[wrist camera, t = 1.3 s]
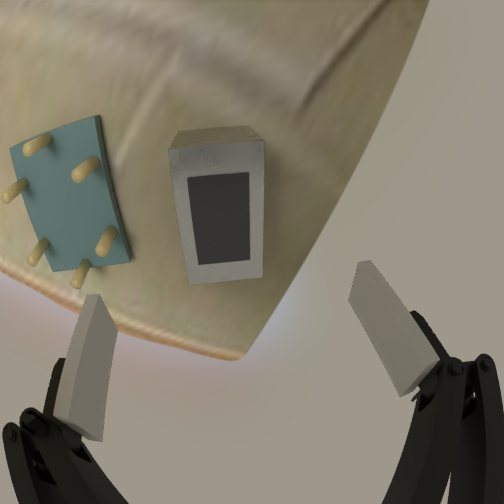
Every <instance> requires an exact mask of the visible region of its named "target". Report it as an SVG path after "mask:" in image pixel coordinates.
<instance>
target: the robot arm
mask: <svg viewBox="0 0 504 504" xmlns="http://www.w3.org/2000/svg"><path fill="white" fill-rule="evenodd" d="M348 301H349V303H350V304H351V306H352V308H353V309H354V311H355V313H356V315H357V317H358V318H359V320H360V322H361V324H362V326H363V327H364V329H365V331H366V333H367V335H368V336H369V338H370V340H371V342H372V344H373V345H374V348H375V349H376V351H377V353H378V355H379V357H380V359H381V361H382V363H383V365H384V367H385V369H386V370H387V372H388V374H389V376H390V378H391V380H392V382H393V384H394V386H395V388H396V390H397V392H398V394H399V397H402V396H404V395H406V394H409V393H410V392H413V391H414V390H415V388H416V387H417V386H419V388H420V390H419V392H418V393H417V394H416V395H415V396H414V397H413V398H412V400H411V401H414V400H415V399H416V398H417V401H416V406H415V410H414V414H413V418H412V422H411V425H410V429H409V432H408V436H407V439H406V442H405V445H404V449H403V452H402V455H401V458H400V460H399V463H398V466H397V469H396V471H395V474H394V476H393V479H392V481H391V484H390V486H389V488H388V491H387V493H386V495H385V498H384V500H383V502H382V504H440V503H441V500H442V498H443V495H444V492H445V489H446V486H447V482H448V479H449V476H450V472H451V477H450V487H449V496H448V504H504V412H503V404H502V397H501V391H500V386H499V380H498V376H497V371H496V366H495V363H494V361H493V359H492V358H491V357H490V356H489V355H487V354H480V355H479V356H478V357H477V358H476V360H475V361H469V362H462V361H461V360H460V359H457V358H455V357H450V356H449V355H448V353H447V352H446V350H445V349H444V347H443V346H442V344H441V343H440V341H439V340H438V338H437V337H436V335H435V334H434V333H433V331H432V329H431V328H430V327H429V326H428V323H427V322H426V321H425V319H424V318H423V317H422V316H421V315H420V314H419V313H417V312H416V311H415V310H414V311H411V312H409V311H408V310H407V308H406V307H405V306H404V304H403V303H402V301H401V300H400V299H399V297H398V296H397V295H396V293H395V292H394V290H393V289H392V288H391V286H390V285H389V284H388V282H387V281H386V280H385V279H384V277H383V276H382V274H381V273H380V272H379V271H378V269H377V268H376V267H375V265H374V264H373V263H372V262H371V261H363V262H358V266H357V270H356V274H355V277H354V281H353V285H352V289H351V292H350V296H349V299H348ZM117 333H118V329H117V327H116V325H115V323H114V321H113V319H112V318H111V316H110V314H109V312H108V310H107V308H106V306H105V304H104V302H103V300H102V298H101V296H100V294H90V295H87V296H86V299H85V301H84V304H83V307H82V309H81V312H80V315H79V318H78V321H77V324H76V327H75V330H74V333H73V336H72V339H71V342H70V346H69V349H68V352H67V356H66V358H59V360H58V361H57V363H56V364H55V366H54V368H53V371H52V375H51V377H52V378H51V379H50V383H49V385H50V386H49V387H48V392H47V396H46V400H45V405H44V410H43V414H42V413H41V412H39V411H38V410H37V409H35V408H31V407H30V408H27V409H25V410H24V411H23V412H22V414H21V416H20V423H19V424H20V427H19V426H18V425H16V424H15V423H13V422H9V423H7V424H6V425H5V427H4V428H3V432H2V433H3V434H2V437H3V443H4V449H5V454H6V459H7V464H8V468H9V472H10V475H11V480H12V483H13V487H14V490H15V493H16V496H17V499H18V502H19V504H128V502H127V501H126V500H125V499H124V497H123V496H122V495H121V494H120V493H119V492H118V490H117V489H116V488H115V487H114V485H113V484H112V483H111V482H110V480H109V479H108V478H107V476H106V475H105V474H104V472H103V471H102V469H101V468H100V467H99V465H98V464H97V462H96V461H95V460H94V458H93V457H92V455H91V454H90V452H89V450H88V449H87V447H86V446H85V444H84V443H83V442H82V441H81V439H82V436H83V437H85V438H86V439H88V440H93V441H100V442H103V429H104V418H105V408H106V399H107V391H108V384H109V377H110V371H111V365H112V359H113V353H114V348H115V343H116V338H117ZM474 392H475V397H474V395H473V393H474Z"/></svg>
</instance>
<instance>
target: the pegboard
mask: <svg viewBox="0 0 504 504" xmlns="http://www.w3.org/2000/svg"><path fill="white" fill-rule="evenodd" d="M10 153H11V157H12V161H13V166H14V169H15V173H16V177H17V180H18V181H17V182H16V183H14V184H13V185H12V186H11V187H9V188H8V189H7V190H6V191H4V192H3V193H2V201H3V202H4V203H5V204H8V203H10V202H11V201H12V200H13V199H14V198H15V197H16V196H17V195H19V194H20V193H21V194H22V197H23V200H24V203H25V206H26V209H27V212H28V214H29V217H30V220H31V223H32V225H33V228H34V230H35V233H36V235H37V238H38V240H39V242H38V244H37V245H36V247H35V248H34V249H33V251H32V252H31V254H30V255H29V256H28V258H27V262H28V263H29V265H31V266H33V267H34V266H36V264H37V263H38V261H39V260H40V258H41V256H42V255H43V253H44V254H45V256H46V258H47V260H48V262H49V264H50V266H51V269H52V271H53V272H57V271H65V270H73V269H77V270H76V272H75V274H74V276H73V279H72V281H71V285H72V286H73V287H74V288H75V289H80V288H81V286H82V284H83V282H84V279H85V277H86V275H87V272H88V270H89V268H90V267H98V266H106V265H115V264H123V263H130V261H131V258H132V254H131V251H130V248H129V245H128V242H127V238H126V235H125V232H124V228H123V225H122V221H121V217H120V214H119V210H118V206H117V202H116V199H115V194H114V190H113V186H112V182H111V177H110V173H109V168H108V163H107V158H106V153H105V148H104V142H103V137H102V131H101V124H100V117H99V115H97V116H93V117H90V118H86V119H83V120H80V121H77V122H74V123H70V124H68V125H65V126H62V127H59V128H56V129H53V130H51V131H48V132H46V133H43V134H40V135H38V136H36V137H33V138H31V139H28V140H26V141H24V142H22V143H19V144H17V145H15V146H13V147H11V148H10Z"/></svg>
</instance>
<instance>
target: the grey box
mask: <svg viewBox="0 0 504 504" xmlns="http://www.w3.org/2000/svg"><path fill="white" fill-rule="evenodd" d="M168 152H169V161H170V169H171V177H172V185H173V192H174V199H175V206H176V213H177V219H178V225H179V231H180V237H181V243H182V249H183V254H184V260H185V265H186V270H187V275H188V280H189V285H195V284H205V283H215V282H225V281H234V280H243V279H252V278H261V277H262V273H263V225H264V154H265V142H264V141H263V140H262V139H261V138H260V137H259V136H258V135H257V134H256V133H255V132H254V131H253V130H252V129H251V128H250V127H249V126H235V127H218V128H206V129H195V130H185V131H178V133H177V134H176V136H175V138H174V140H173V142H172V143H171V145H170V147H169V149H168Z"/></svg>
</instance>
